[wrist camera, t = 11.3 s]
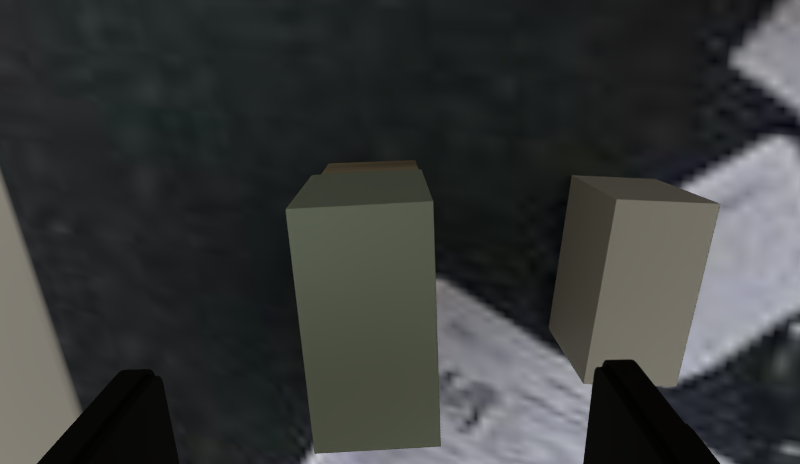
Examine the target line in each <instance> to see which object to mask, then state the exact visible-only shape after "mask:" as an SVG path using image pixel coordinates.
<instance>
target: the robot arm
mask: <svg viewBox="0 0 800 464" xmlns="http://www.w3.org/2000/svg"><path fill="white" fill-rule="evenodd" d="M37 464H179V459H178V454H177V449H176V444H175V439H174V434H173V430H172V425H171V420H170V415H169V410H168V405H167V400H166V395H165V390H164V385H163V381H162V379H161V377H159V376H155V374H154V372H153V371H152V370H150V369H141V370H122V371H120V372H119V373H118V374H117V375H116V376H115V377H114V378H113V379H112V381H111V382H110V383H109V384H108V385H107V386H106V387H105V388H104V390H103V391H102V392H101V393H100V394H99V395H98V396H97V397H96V398H95V400H94V401H93V402H92V403H91V404H90V405H89V406H88V407H87V408H86V410H85V411H84V412H83V413H82V414H81V415H80V416H79V417H78V418H77V420H76V421H75V422H74V423H73V424H72V425H71V426H70V427H69V429H68V430H67V431H66V432H65V433H64V434H63V435H62V436H61V437H60V439H59V440H58V441H57V442H56V443H55V444H54V445H53V446H52V448H51V449H50V450H49V451H48V452H47V453H46V454H45V455H44V457H42V459H41V460H40V461H39V462H38V463H37ZM583 464H720V463H719V461H718V460H717V459H716V458H715V456H714V455H713V454H712V453H711V451H710V450H709V449H708V448H707V446H706V445H705V444H704V443H703V441H702V440H701V439H700V438H699V436H698V435H697V434H696V433H695V431H694V430H693V429H692V428H691V427H690V426H689V425H688V424H685V423H684V422H683V421H682V419H681V418H680V417H679V416H678V414H677V413H676V412H675V411H674V409H673V408H672V407H671V405H670V404H669V403H668V402H667V400H666V399H665V398H664V397H663V395H662V394H661V393H660V392H659V390H658V389H657V388H656V386H655V385H654V384H653V383H652V381H651V380H650V379H649V378H648V376H647V375H646V374H645V373H644V371H643V370H642V369H641V367H640V366H639V365H638V364H637V362H635V361H634V360H632V359H621V360H605V361H604V362H603V364H602V367H596V369H595V371H594V378H593V386H592V395H591V403H590V412H589V420H588V428H587V437H586V445H585V454H584V462H583Z"/></svg>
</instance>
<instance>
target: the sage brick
mask: <svg viewBox="0 0 800 464" xmlns="http://www.w3.org/2000/svg"><path fill="white" fill-rule="evenodd" d="M286 217H287V226H288V234H289V243H290V251H291V259H292V268H293V276H294V284H295V293H296V301H297V310H298V318H299V326H300V335H301V343H302V351H303V360H304V368H305V377H306V385H307V393H308V402H309V410H310V418H311V427H312V435H313V444H314V452H315V454H317V453H334V452H352V451H369V450H387V449H404V448H422V447H439V446H441V440H440V407H439V375H438V342H437V309H436V277H435V244H434V211H433V199H432V197H431V194H430V191H429V188H428V186H427V183H426V180H425V178H424V175H423V172H422V169H416V170H397V171H379V172H360V173H341V174H322V175H312V176H311V177H310V178H309V180H308V181H307V182H306V183H305V185H304V186H303V187H302V189H301V190H300V191H299V192H298V194H297V195H296V196H295V198H294V199H293V200H292V201H291V203H290V204H289V205H288V207H287V208H286Z"/></svg>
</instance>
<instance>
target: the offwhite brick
mask: <svg viewBox="0 0 800 464" xmlns="http://www.w3.org/2000/svg"><path fill="white" fill-rule="evenodd" d="M719 208H720V204H719V203H717V202H714V201H711V200H709V199H706V198H704V197H701V196H698V195H696V194H693V193H690V192H688V191H685V190H683V189H680V188H677V187H675V186H672V185H670V184H667V183H664V182H662V181H659V180H657V179H643V178H621V177H600V176H578V175H572V177H571V184H570V190H569V197H568V204H567V210H566V217H565V223H564V230H563V237H562V243H561V250H560V256H559V263H558V270H557V276H556V283H555V289H554V296H553V303H552V309H551V316H550V323H549V330H550V332H551V333H552V335H553V336H554V338H555V340H556V341H557V343H558V344H559V346H560V347H561V349H562V351H563V352H564V354H565V355H566V357H567V358H568V360H569V362H570V363H571V365H572V366H573V368H574V369H575V371H576V373H577V374H578V376H579V377H580V379H581V380H582V382H583V384H593V378H594V371H595V369H596V367H602V364H603V362H604V361H605V360H621V359H632V360H634V361H635V362H637V364H638V365H639V366H640V367H641V369H642V370H643V371H644V373H645V374H646V375H647V376H648V378H649V379H650V380H651V381H652V383H653V384H654V385H655V386H676V385H677V381H678V377H679V373H680V368H681V364H682V360H683V356H684V352H685V348H686V344H687V340H688V336H689V331H690V327H691V323H692V319H693V315H694V311H695V307H696V303H697V299H698V294H699V290H700V286H701V282H702V278H703V274H704V270H705V266H706V261H707V257H708V253H709V249H710V245H711V241H712V237H713V233H714V229H715V224H716V220H717V216H718V212H719Z"/></svg>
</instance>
